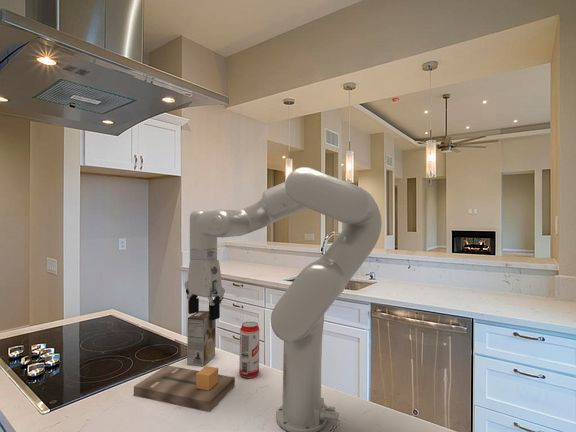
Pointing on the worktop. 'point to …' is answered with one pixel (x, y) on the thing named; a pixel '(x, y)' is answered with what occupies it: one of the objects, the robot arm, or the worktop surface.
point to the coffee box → (200, 339)
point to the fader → (207, 378)
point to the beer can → (249, 349)
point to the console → (183, 388)
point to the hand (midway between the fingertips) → (203, 316)
